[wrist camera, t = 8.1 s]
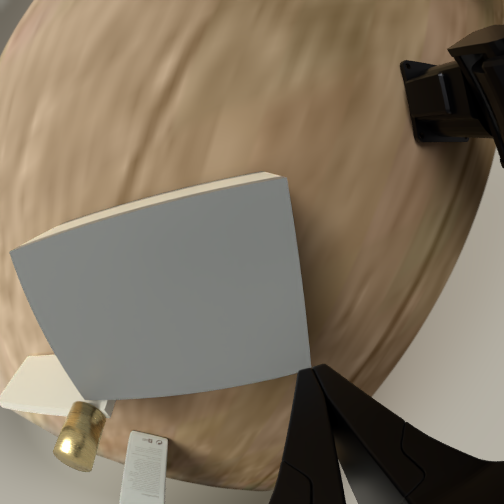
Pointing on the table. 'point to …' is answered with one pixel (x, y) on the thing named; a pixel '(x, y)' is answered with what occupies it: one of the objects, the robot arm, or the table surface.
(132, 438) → the skincare box
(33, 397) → the side door
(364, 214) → the table surface
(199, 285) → the case
